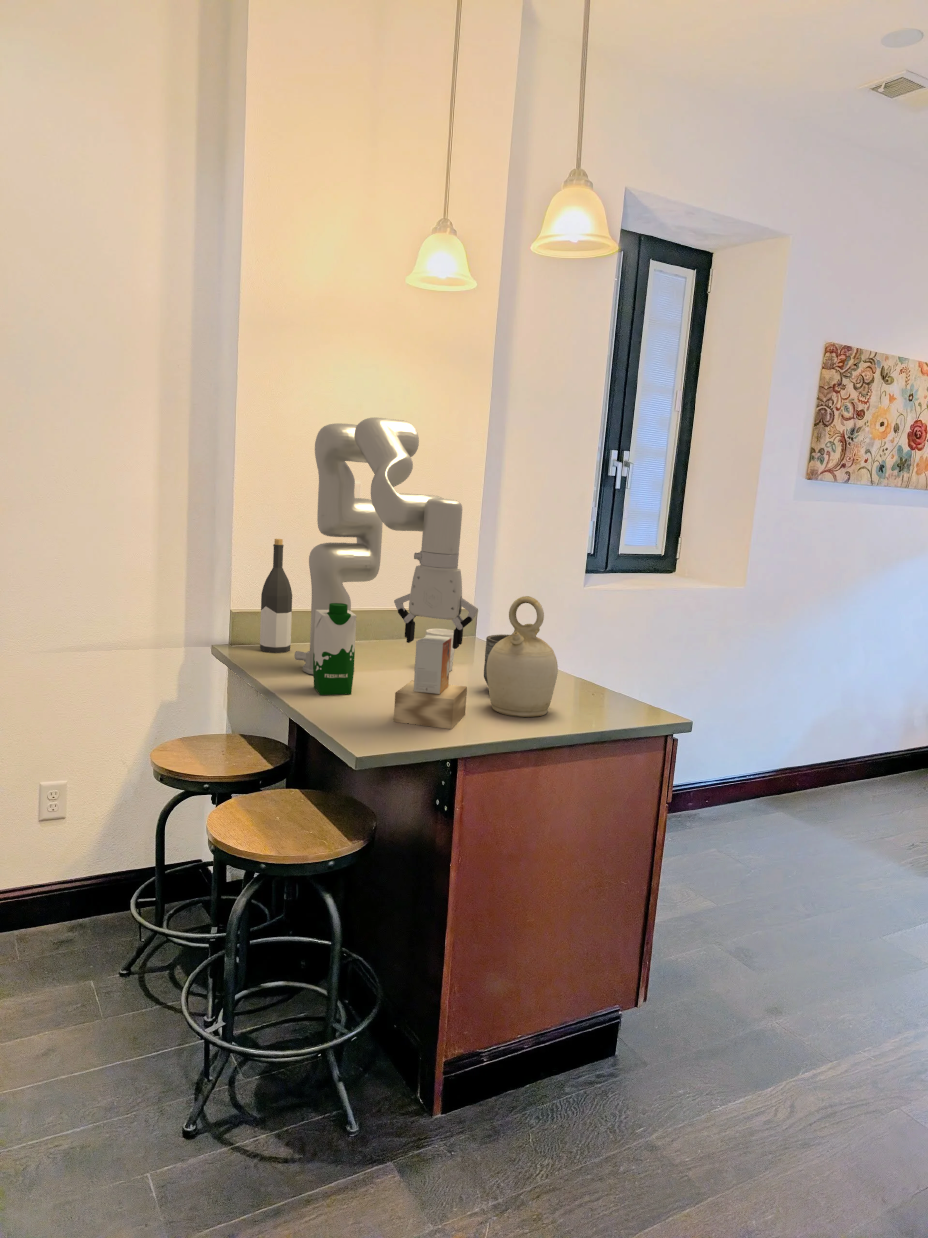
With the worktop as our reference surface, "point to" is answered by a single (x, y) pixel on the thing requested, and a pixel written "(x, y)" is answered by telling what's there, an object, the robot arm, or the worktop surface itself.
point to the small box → (432, 664)
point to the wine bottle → (276, 607)
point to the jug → (522, 668)
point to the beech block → (430, 706)
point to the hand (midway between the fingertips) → (432, 644)
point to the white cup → (444, 634)
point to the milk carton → (334, 650)
